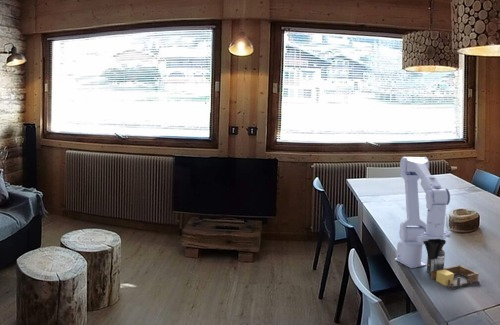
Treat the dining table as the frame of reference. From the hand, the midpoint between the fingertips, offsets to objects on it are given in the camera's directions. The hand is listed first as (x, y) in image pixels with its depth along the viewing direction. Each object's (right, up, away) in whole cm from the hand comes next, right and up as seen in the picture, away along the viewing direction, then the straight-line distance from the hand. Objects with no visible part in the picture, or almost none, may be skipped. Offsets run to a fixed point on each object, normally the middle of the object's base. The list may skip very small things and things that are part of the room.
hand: (432, 258), depth 138 cm
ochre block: (+7, -10, +4) cm, 13 cm away
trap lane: (+11, -10, +6) cm, 16 cm away
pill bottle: (+7, -9, +13) cm, 17 cm away
